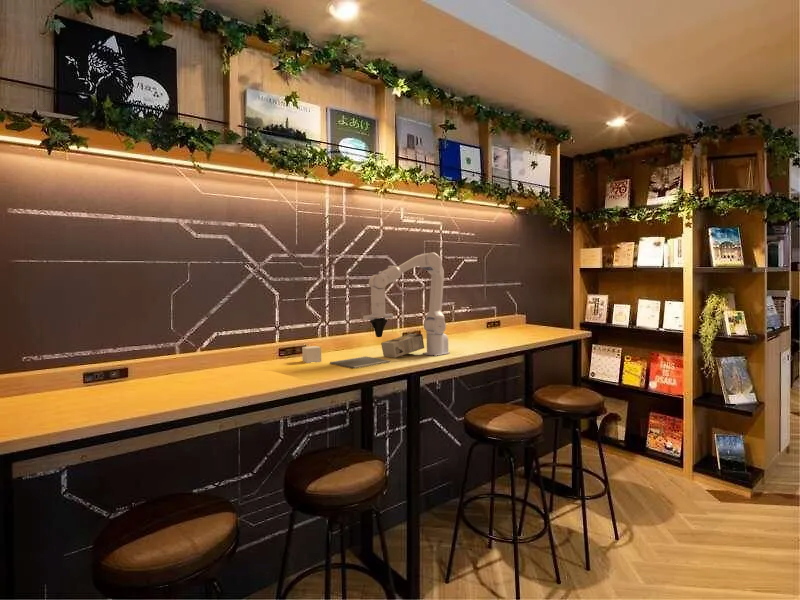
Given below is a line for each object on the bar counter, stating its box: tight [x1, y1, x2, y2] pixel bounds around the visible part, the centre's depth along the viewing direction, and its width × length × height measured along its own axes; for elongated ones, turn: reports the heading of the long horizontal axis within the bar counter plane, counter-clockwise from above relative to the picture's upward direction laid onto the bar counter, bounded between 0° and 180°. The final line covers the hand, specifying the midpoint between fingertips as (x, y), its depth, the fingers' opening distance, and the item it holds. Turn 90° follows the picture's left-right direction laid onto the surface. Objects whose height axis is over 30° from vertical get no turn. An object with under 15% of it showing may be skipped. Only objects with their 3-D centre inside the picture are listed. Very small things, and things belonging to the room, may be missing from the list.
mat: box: [329, 356, 392, 369], centre depth 182 cm, size 18×16×1 cm
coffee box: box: [380, 333, 425, 359], centre depth 198 cm, size 9×6×16 cm
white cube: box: [301, 345, 322, 364], centre depth 188 cm, size 6×6×6 cm
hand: (379, 336), depth 189 cm, fingers closed
